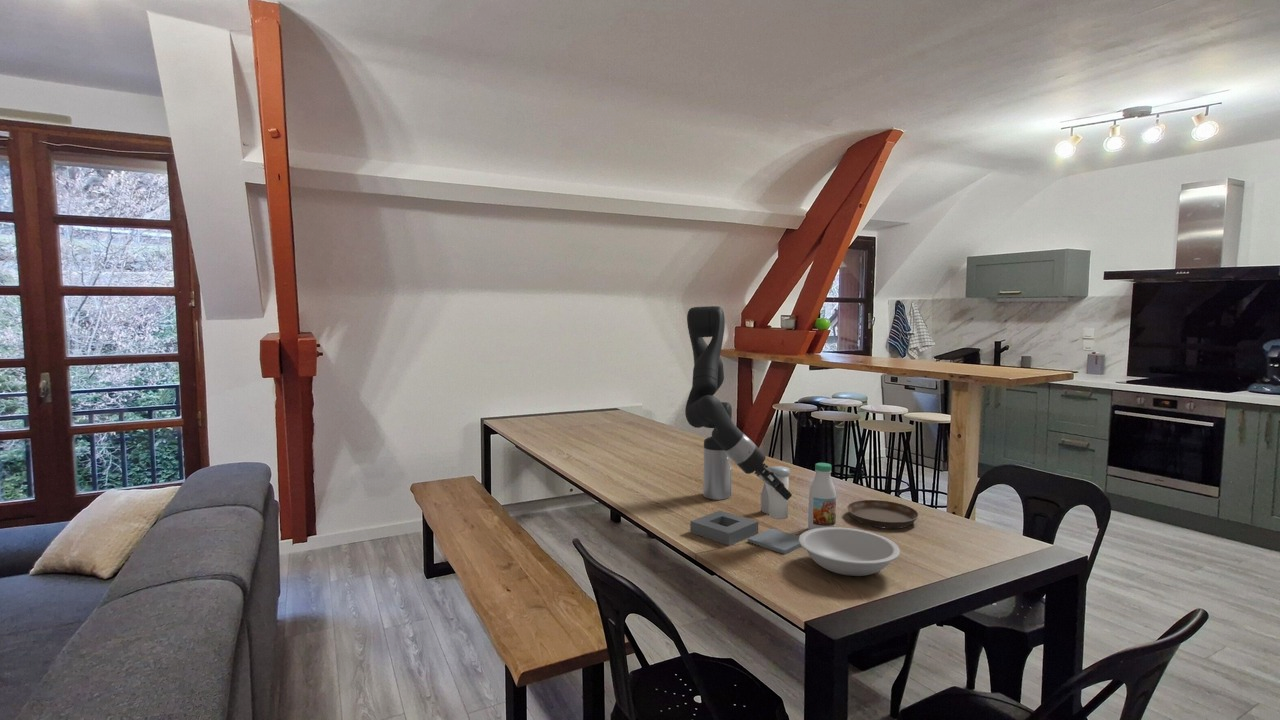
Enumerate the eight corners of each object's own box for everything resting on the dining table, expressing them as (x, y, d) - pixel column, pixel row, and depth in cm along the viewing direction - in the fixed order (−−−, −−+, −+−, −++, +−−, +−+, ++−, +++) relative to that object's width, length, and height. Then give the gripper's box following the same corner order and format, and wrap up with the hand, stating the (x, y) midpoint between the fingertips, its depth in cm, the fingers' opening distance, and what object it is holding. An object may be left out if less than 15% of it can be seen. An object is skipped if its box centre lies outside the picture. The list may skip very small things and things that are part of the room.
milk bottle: (803, 531, 180) (804, 464, 179) (815, 524, 186) (817, 459, 184) (827, 537, 175) (829, 468, 173) (839, 530, 180) (841, 464, 179)
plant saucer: (882, 535, 177) (882, 524, 177) (832, 514, 196) (833, 504, 196) (933, 526, 186) (933, 515, 185) (881, 506, 204) (881, 496, 204)
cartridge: (775, 511, 174) (776, 465, 173) (792, 516, 170) (793, 468, 170) (764, 516, 170) (765, 468, 170) (781, 520, 167) (782, 472, 166)
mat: (771, 531, 180) (771, 528, 180) (808, 542, 171) (808, 538, 171) (747, 542, 171) (747, 538, 171) (785, 554, 163) (785, 550, 163)
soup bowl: (921, 583, 145) (922, 556, 145) (833, 596, 139) (834, 568, 138) (858, 546, 168) (859, 523, 168) (780, 556, 162) (781, 531, 161)
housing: (719, 521, 188) (720, 510, 188) (758, 533, 178) (758, 521, 178) (690, 532, 178) (690, 521, 178) (729, 545, 168) (729, 533, 168)
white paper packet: (784, 511, 198) (785, 481, 197) (768, 514, 195) (768, 483, 194) (777, 508, 201) (777, 478, 200) (760, 511, 198) (761, 481, 197)
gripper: (762, 448, 161) (805, 492, 163) (746, 437, 175) (785, 478, 178) (742, 469, 161) (785, 512, 163) (728, 456, 175) (767, 496, 177)
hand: (785, 494), depth 170 cm, fingers closed on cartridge, 5 cm apart
